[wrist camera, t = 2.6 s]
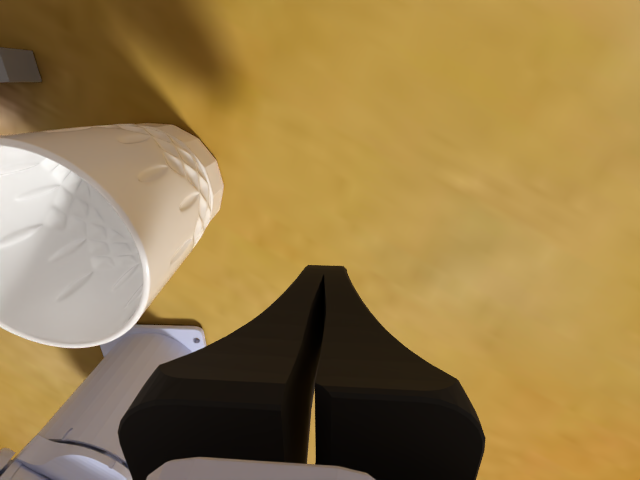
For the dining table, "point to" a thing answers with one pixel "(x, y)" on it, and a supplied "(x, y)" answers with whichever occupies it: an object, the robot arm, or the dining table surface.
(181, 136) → the white cup
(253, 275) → the dining table surface
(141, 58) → the dining table surface
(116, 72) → the dining table surface
